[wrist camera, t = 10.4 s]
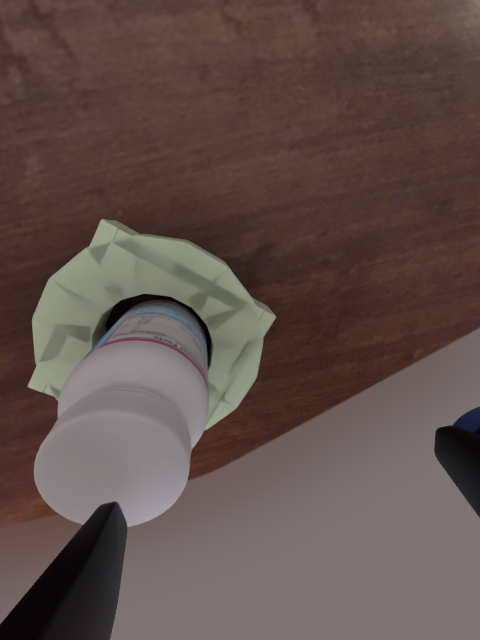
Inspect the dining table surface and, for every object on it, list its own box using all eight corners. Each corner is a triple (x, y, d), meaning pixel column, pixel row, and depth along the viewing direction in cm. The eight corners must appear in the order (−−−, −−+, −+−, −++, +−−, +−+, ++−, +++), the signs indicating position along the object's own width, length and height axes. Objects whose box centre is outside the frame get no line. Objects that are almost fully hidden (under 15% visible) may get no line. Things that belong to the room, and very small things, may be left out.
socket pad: (290, 299, 19) (302, 309, 17) (199, 440, 22) (199, 465, 20) (104, 191, 16) (87, 184, 13) (25, 373, 19) (-1, 394, 16)
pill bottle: (156, 392, 20) (105, 571, 10) (97, 330, 18) (-49, 470, 8) (224, 347, 20) (247, 483, 9) (170, 278, 18) (122, 351, 7)
